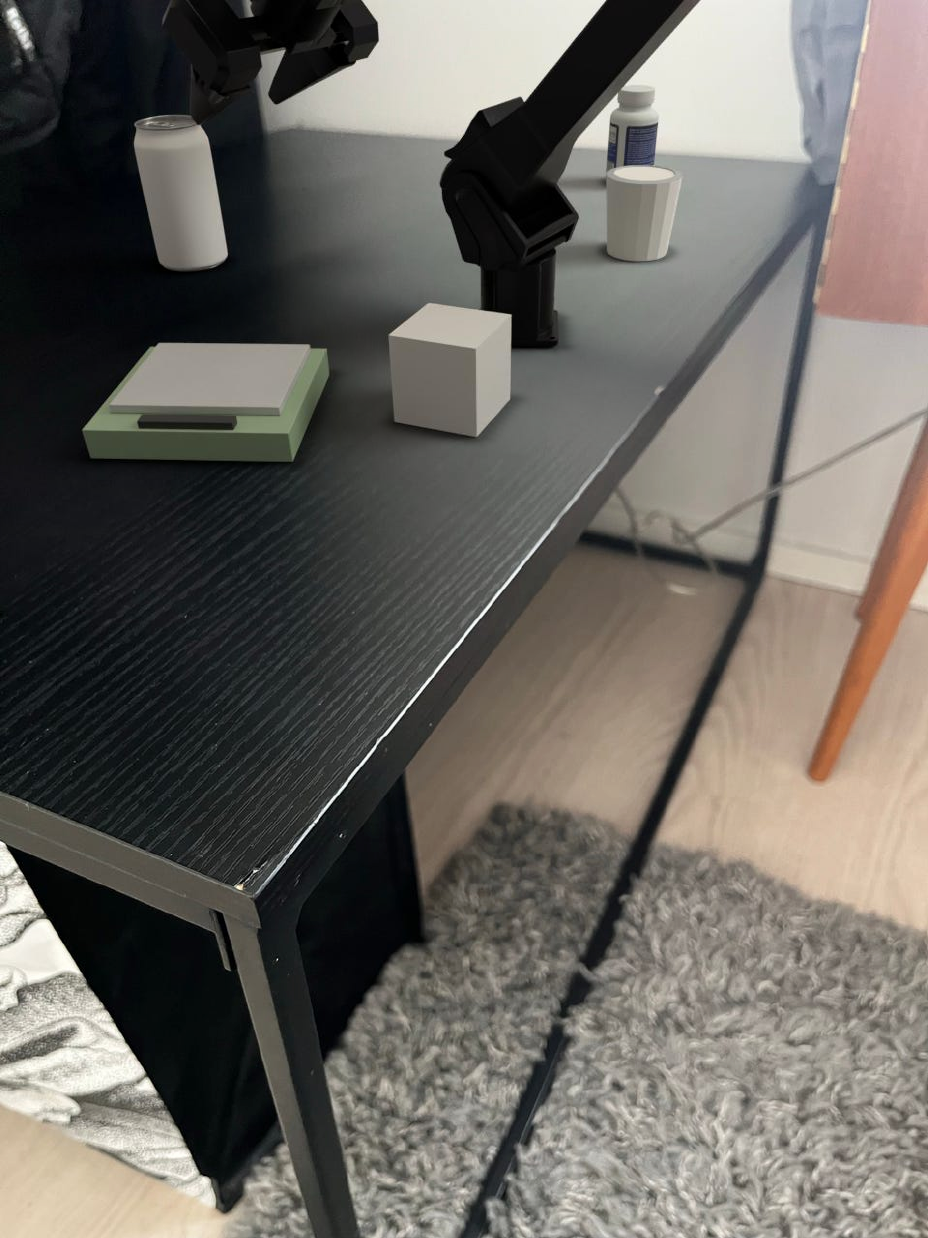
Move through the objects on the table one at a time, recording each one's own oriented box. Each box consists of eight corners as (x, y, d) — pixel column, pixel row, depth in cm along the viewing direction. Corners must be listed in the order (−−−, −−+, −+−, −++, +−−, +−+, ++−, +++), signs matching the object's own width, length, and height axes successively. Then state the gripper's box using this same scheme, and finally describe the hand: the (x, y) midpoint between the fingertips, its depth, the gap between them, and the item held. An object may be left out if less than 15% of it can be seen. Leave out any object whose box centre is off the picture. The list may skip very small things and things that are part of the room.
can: (194, 277, 86) (166, 132, 78) (144, 265, 88) (113, 124, 81) (243, 257, 90) (220, 117, 82) (194, 246, 93) (168, 111, 85)
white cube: (510, 399, 65) (512, 314, 61) (476, 437, 61) (476, 348, 57) (431, 385, 67) (428, 302, 63) (393, 421, 63) (388, 334, 59)
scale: (292, 462, 59) (287, 424, 57) (90, 458, 59) (79, 420, 58) (329, 374, 69) (325, 340, 67) (156, 372, 69) (148, 338, 68)
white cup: (672, 265, 86) (682, 183, 82) (597, 261, 87) (603, 180, 83) (674, 242, 91) (683, 164, 87) (603, 238, 93) (609, 162, 88)
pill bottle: (659, 180, 109) (669, 85, 103) (640, 191, 106) (649, 93, 100) (617, 174, 112) (624, 81, 106) (597, 185, 108) (603, 89, 102)
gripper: (335, -155, 71) (249, 11, 82) (149, -157, 59) (79, 39, 70) (426, -26, 72) (329, 120, 84) (263, -1, 60) (176, 165, 72)
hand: (235, 109), depth 77 cm, fingers open, 9 cm apart
